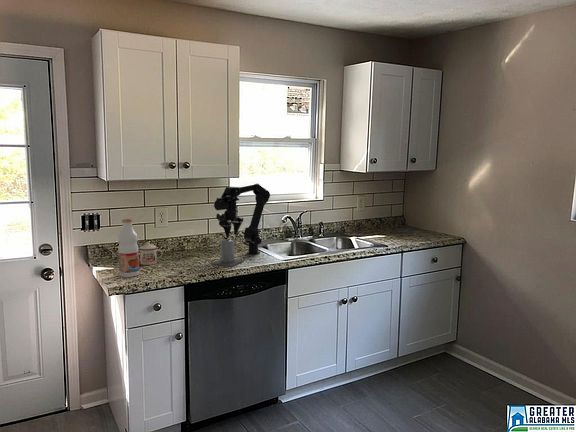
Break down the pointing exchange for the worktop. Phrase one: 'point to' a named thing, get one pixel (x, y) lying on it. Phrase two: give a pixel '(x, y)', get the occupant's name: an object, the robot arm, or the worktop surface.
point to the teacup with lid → (149, 254)
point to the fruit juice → (128, 250)
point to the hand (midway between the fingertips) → (231, 235)
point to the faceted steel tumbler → (227, 251)
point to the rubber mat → (227, 263)
